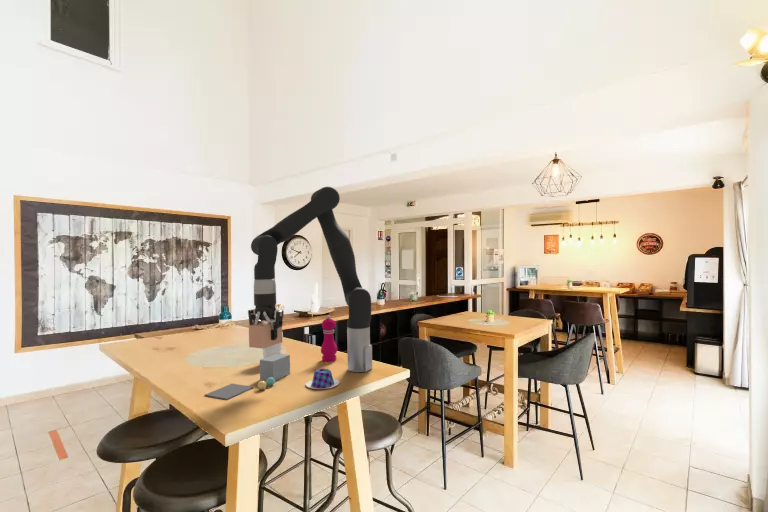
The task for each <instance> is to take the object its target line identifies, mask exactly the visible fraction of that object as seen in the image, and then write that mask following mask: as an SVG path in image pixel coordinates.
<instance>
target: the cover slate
mask: <svg viewBox="0 0 768 512" xmlns="http://www.w3.org/2000/svg"><path fill="white" fill-rule="evenodd" d="M290 374H291V354H286V353H285V354H284V353H281V354H274V355H272V356H269V357H266V358H264V357H263V358H261V359H259V380H260V381H265V382H266V380H267V379H268V378H269V377H273V378H274V379H275V382H276V381H277V380H280V379H282V378H284V377H286V376H288V375H290Z"/></svg>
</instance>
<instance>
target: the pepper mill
mask: <svg viewBox="0 0 768 512" xmlns="http://www.w3.org/2000/svg"><path fill="white" fill-rule="evenodd" d="M321 327H322V331H323V332H322V333H323V342H322V344H321V348H320V354H322V356H321V361H323V362H326V363H329V362H335V361H336V360H337V352H338V347H337V343H336V342H335V339H334V338H335V337H334V334H335V327H336V321H335V319H332V318H331V315H330V314H328V315H327V316H326V318H325V319H323V320H322V321H321Z"/></svg>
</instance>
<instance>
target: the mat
mask: <svg viewBox="0 0 768 512" xmlns="http://www.w3.org/2000/svg"><path fill="white" fill-rule="evenodd" d="M253 389H254V386H251V385H243V384H239V383H238V384H236V383H229V384H227V385H225V386H222V387H220V388H217V389H215V390H213V391H212V390H211V391H210V392H208V393H205V394H204V397H209V398H214V399H221V400H225V401H229V400H230V399H232V398H235V397H237V396H239V395H241V394H243V393H245V392H248V391H250V390H253Z"/></svg>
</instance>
